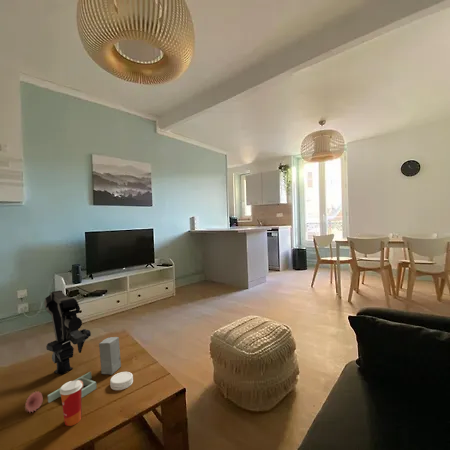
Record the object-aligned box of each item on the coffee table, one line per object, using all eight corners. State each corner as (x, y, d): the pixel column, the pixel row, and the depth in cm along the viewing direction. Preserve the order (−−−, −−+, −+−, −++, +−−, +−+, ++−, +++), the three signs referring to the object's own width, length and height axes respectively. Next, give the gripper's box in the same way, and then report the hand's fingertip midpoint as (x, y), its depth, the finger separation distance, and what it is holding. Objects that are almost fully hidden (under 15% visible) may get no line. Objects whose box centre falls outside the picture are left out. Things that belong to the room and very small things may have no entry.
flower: (41, 386, 120) (32, 386, 115) (52, 398, 117) (43, 398, 112) (27, 405, 117) (16, 405, 112) (37, 417, 114) (27, 418, 109)
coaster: (137, 380, 132) (137, 373, 131) (121, 393, 122) (121, 385, 122) (122, 376, 136) (121, 369, 136) (105, 388, 127) (105, 380, 127)
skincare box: (112, 375, 137) (110, 343, 136) (99, 374, 138) (97, 343, 138) (122, 366, 145) (120, 336, 145) (109, 365, 146) (108, 335, 146)
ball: (73, 389, 126) (71, 379, 126) (85, 387, 127) (84, 376, 127) (70, 396, 121) (69, 385, 121) (82, 393, 122) (81, 382, 122)
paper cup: (67, 414, 110) (65, 380, 109) (87, 412, 110) (85, 378, 110) (57, 429, 102) (55, 392, 102) (78, 427, 103) (76, 390, 102)
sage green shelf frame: (47, 402, 118) (47, 395, 118) (90, 377, 136) (89, 371, 136) (63, 409, 113) (62, 402, 113) (105, 383, 130) (104, 376, 130)
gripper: (58, 335, 120) (61, 370, 120) (97, 320, 136) (98, 351, 137) (44, 331, 125) (46, 365, 126) (83, 317, 142) (84, 347, 142)
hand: (70, 357), depth 132 cm, fingers open, 9 cm apart
